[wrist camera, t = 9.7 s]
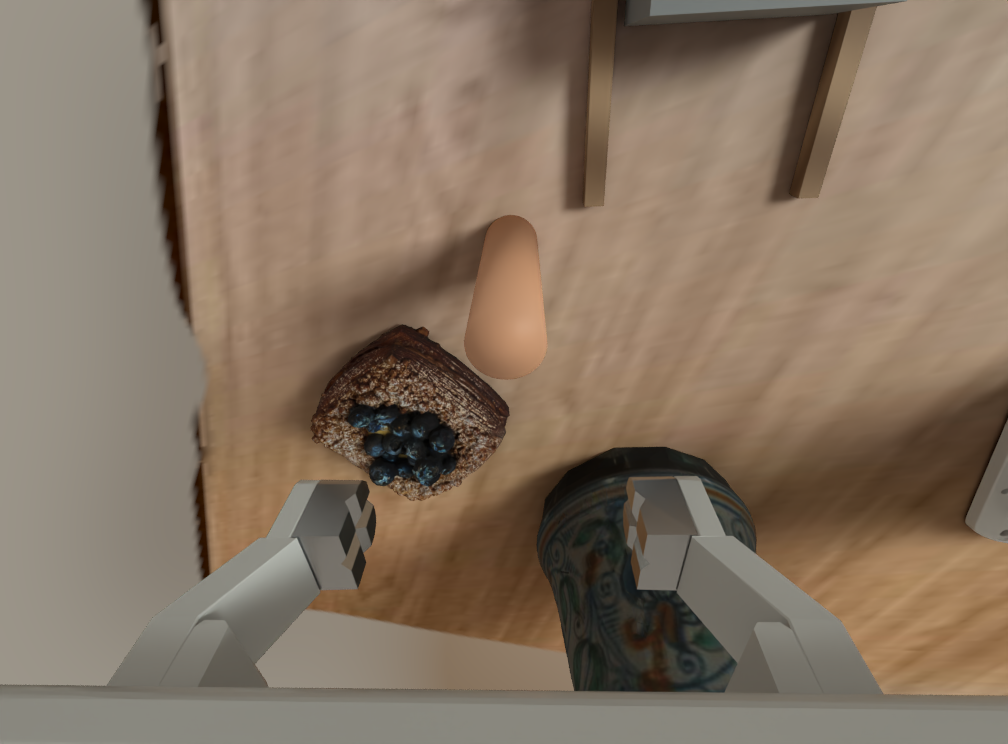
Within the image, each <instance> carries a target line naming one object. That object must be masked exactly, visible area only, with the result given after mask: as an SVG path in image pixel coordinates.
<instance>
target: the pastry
mask: <svg viewBox="0 0 1008 744" xmlns="http://www.w3.org/2000/svg"><path fill="white" fill-rule="evenodd" d="M428 334H429V331H428V330H427V329H426V328H425V327H421V328H419V329H417V330H416V329H413V328H412V327H408V326H406V325H401V326H399V327H397V328H395V329H393V330H391V331H390V332H388V333H386V334H383V335H382V336H381V337H380V338H379V339H377V340H376V341H374V342H372V343H371V344H370V345H368V346H367V347H366V348H364V349H363V350H362V351H360V352H359V353H358V354H357V355H356V356H355V357H352V358H351V360H350V361H349V362H348V363H347V364H346V365H345V366H344V367H343V368H342V369H341V370H340V372H338V373H337V374H336V375H335V376H334V377H333V378H332V379H331V380H330V381H329V383H328V385H327V387H326V389H325V392H324V393H323V394H322V395H321V396H322V398H321V399H320V402H319V405H318V407H317V411H316V414H314V415H313V417H312V420H311V422H312V423H313V425H312V426H311V430H312V431H313V433H314V436H313V437H312V440H313V441H314V442H315V443H316V444H317V443H319V442H321V443H323V444H324V447H327V448H329V449H331V450H332V451H336V452H337V454H341V455H342V456H344V457H345V458H346V459H348V460H349V461H350V462H351V463H352V464H354V465H355V466H357V467H359V468H361V469H363V470H364V471H365V472H367V473H369V475H370V479H371V480H372V482H373V483H375V484H376V485H380V486H386V485H387V486H388V487H389V488H390V489H393V491H394V492H397V494H398V495H399V496H401V495H404V496H406V497H407V498H408V499H409V500H411V501H414V500H416V499H418V500H421V501H422V500H425V499H426V498H430V497H431V495H433V496H435V495H436V496H437V495H438V494H439V495H440V494H441V493H443V492H444V491H447V490H450V489H451V488H452V486H453V485H454V486H456V487H458V486H459V485H461V483H462V481H461V480H463V479H464V478H466V477H467V476H468V475H470V474H471V473H473V472H475V471H476V470H477V469H478V468H479V467H480V466H481V465H482V464H483V463H484V462H485V461H486V460H487V459H488V458H489V457H490V456H491V455H492V454H493V453H494V452H495V451H496V449H497V448H498V447H499V445H500V443H501V442H502V440H503V437H504V435H505V434H506V430H505V425H506V420H507V417H508V416H509V407H508V406H507V404H506V402H505V401H504V400H503V399H502V398H501V397H500V396H499V395H498V394H497V393H496V392H495V391H494V390H493V389H492V388H491V387H490V386H489V385H488V384H487V383H486V382H484V381H483V380H482V379H481V378H480V377H479V376H477V375H476V374H475V373H474V372H473V371H472V370H470V369H469V368H468V367H467V366H466V365H465V364H463V363H462V362H461V361H460V360H458V359H457V358H456V357H455V356H453V355H452V354H450V353H448V352H447V351H445V350H444V349H443V348H442V347H441V346H440V344H439V343H436V342H433V341H431V340H430V339H429V338H428Z"/></svg>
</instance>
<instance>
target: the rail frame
mask: <svg viewBox="0 0 1008 744" xmlns="http://www.w3.org/2000/svg"><path fill="white" fill-rule="evenodd" d="M617 5H618V0H592V2H591V24H590V47H589V69H588V92H587V114H586V137H585V159H584V182H583V204H584V206H585V207H592V206H604V195H605V180H606V166H607V151H608V136H609V122H610V107H611V92H612V78H613V63H614V49H615V34H616V19H617ZM876 8H877V6H875V7H869V8H863V9H858V10H852V11H846V12H840V13H838V17H837V20H836V24H835V28H834V31H833V35H832V39H831V42H830V46H829V50H828V53H827V57H826V61H825V64H824V68H823V72H822V75H821V79H820V83H819V86H818V90H817V94H816V97H815V101H814V105H813V108H812V112H811V116H810V119H809V123H808V127H807V130H806V134H805V138H804V141H803V145H802V149H801V152H800V156H799V159H798V163H797V167H796V170H795V174H794V178H793V181H792V185H791V189H790V192H789V194H790V195H792V196H794V197H796V198H818V197H819V194H820V190H821V187H822V184H823V180H824V177H825V174H826V171H827V167H828V164H829V161H830V158H831V154H832V151H833V148H834V145H835V141H836V138H837V135H838V132H839V128H840V125H841V122H842V119H843V115H844V112H845V109H846V105H847V102H848V99H849V96H850V92H851V89H852V86H853V83H854V79H855V76H856V73H857V70H858V66H859V63H860V60H861V57H862V53H863V50H864V47H865V44H866V40H867V37H868V34H869V30H870V27H871V24H872V21H873V17H874V14H875V11H876Z"/></svg>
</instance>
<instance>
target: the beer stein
mask: <svg viewBox="0 0 1008 744" xmlns="http://www.w3.org/2000/svg"><path fill="white" fill-rule="evenodd" d="M666 476H672V477H674V476H697V477H698V478H700V479H701V482H702V484H703V486H704V488H705V491H706V493H707V495H708V497H709V499H710V502H711V504H712V506H713V508H714V511H715V513H716V515H717V517H718V519H719V522H720V524H721V526H722V528H723V531H724V533H725V535H726V536H734V537H735V538H736V539H737V540H739V541H740V542H741V543H743V544H744V545H745V546H746V547H748V548H749V549H750V550H751V551H753V552H754V553H755V554H756V532H755V526H754V523H753V521H752V518H751V515H750V512H749V511H748V509H747V507H746V506H745V504H744V503H743V502H742V500H741V499H740V498H739V497H738V496H737V495H736V493H735V492H734V491H733V490H732V489H731V488H730V486H729V484H728V483H727V481H726V480H725V479H724V478H723V477H722V476H721V475H720V474H719V473H718V472H716V471H715V470H714V469H713V468H712V467H711V466H710V465H709V464H708V463H707V462H706V461H705V460H703V459H700V458H697V457H694V456H691V455H688V454H685V453H682V452H679V451H676V450H673V449H670V448H667V447H632V448H613V449H611V450H609V451H607V452H605V453H603V454H601V455H599V456H597V457H595V458H593V459H591V460H589V461H587V462H585V463H583V464H581V465H579V466H577V467H575V468H573V469H571V470H569V471H568V472H567V473H566V474H565V476H564V477H563V478H562V479H561V480H560V482H559V483H558V484H557V485H556V487H555V488H554V489H553V490H552V491H551V493H550V494H549V495H548V496H547V497H546V499H545V504H544V511H543V518H542V522H541V525H540V528H539V532H538V535H537V552H538V558H539V562H540V565H541V567H542V570H543V572H544V574H545V575H546V577H547V579H548V580H549V582H550V585H551V587H552V590H553V593H554V597H555V601H556V604H557V608H558V612H559V616H560V621H561V628H562V633H563V638H564V643H565V648H566V653H567V657H568V663H569V668H570V673H571V679H572V682H573V687H574V691H622V692H711V693H724V692H725V690H726V688H727V686H728V684H729V681H730V679H731V677H732V675H733V673H734V671H735V668H736V666H737V664H738V663H737V662H736V661H735V660H734V658H733V657H732V656H731V655H730V654H729V653H728V651H727V650H726V649H725V648H724V647H723V646H722V644H721V643H720V642H719V641H718V640H717V639H716V638H715V636H714V635H713V634H712V633H711V632H710V631H709V629H708V628H707V627H706V626H705V625H704V624H703V622H702V621H701V620H700V619H699V618H698V617H697V615H696V614H695V613H694V612H693V611H692V610H691V609H690V607H689V606H688V605H687V604H686V603H685V602H684V600H683V599H682V598H681V597H680V596H679V595H678V593H677V591H676V590H640V589H637V587H636V582H635V578H634V574H633V569H632V565H631V557H632V551H633V550H632V549H631V548H630V547H629V546H628V545H627V543H626V538H625V533H624V526H623V510H624V503H625V502H626V501H627V500H628V495H627V491H626V487H627V481H628V479H629V477H666Z"/></svg>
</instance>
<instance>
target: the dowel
mask: <svg viewBox="0 0 1008 744" xmlns="http://www.w3.org/2000/svg"><path fill="white" fill-rule="evenodd" d="M464 347H465V352H466V355H467V357H468V359H469V360H470V362H471V363H472V365H473V366H474V367H475V368H476V369H478V370H479V371H480V372H482V373H483V374H485V375H487V376H490V377H493V378H497V379H507V380H508V379H516V378H520V377H523V376H525V375H527V374H529V373H531V372H532V371H534V370H535V369H536V368H537V367H538V366H539V365H540V363H541V362H542V361H543V359H544V357H545V354H546V351H547V334H546V324H545V314H544V304H543V294H542V284H541V274H540V264H539V254H538V244H537V236H536V232H535V230H534V228H533V226H532V225H531V224H530V223H529V222H528V221H527V220H525V219H524V218H522V217H519V216H515V215H507V216H503V217H500V218H498V219H497V220H495V221H494V222H493V223H492V224H491V225H490V226H489V228H488V230H487V232H486V236H485V241H484V246H483V251H482V255H481V260H480V265H479V270H478V275H477V280H476V285H475V289H474V294H473V299H472V304H471V309H470V314H469V319H468V324H467V328H466V333H465V339H464Z"/></svg>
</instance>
